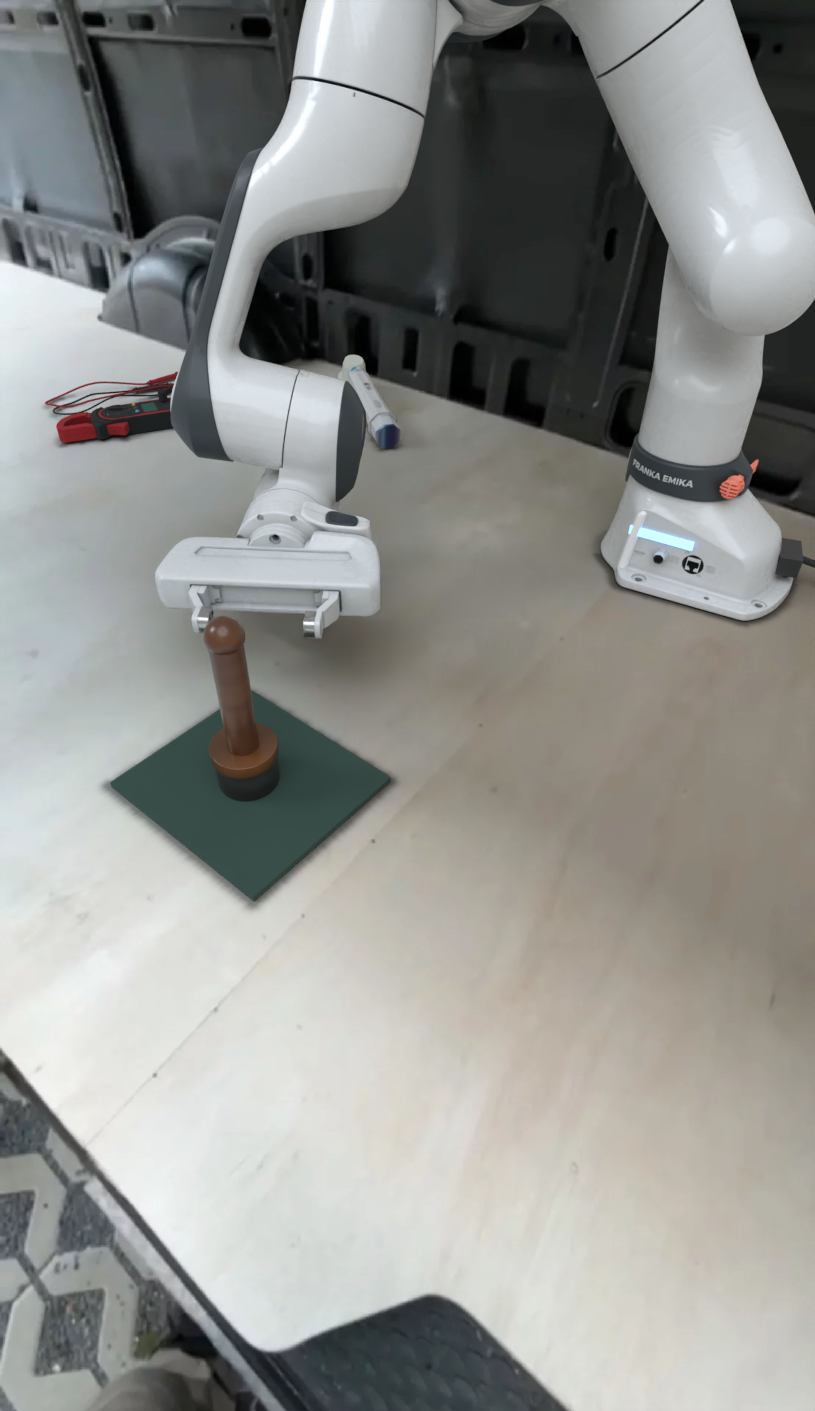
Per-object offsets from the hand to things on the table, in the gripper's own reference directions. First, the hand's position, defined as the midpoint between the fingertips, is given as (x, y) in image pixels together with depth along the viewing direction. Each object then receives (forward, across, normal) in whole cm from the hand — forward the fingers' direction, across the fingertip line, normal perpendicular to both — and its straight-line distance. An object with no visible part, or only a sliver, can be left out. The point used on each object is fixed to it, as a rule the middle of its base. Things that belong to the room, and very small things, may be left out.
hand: (256, 629), depth 67 cm
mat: (+8, 0, +11) cm, 13 cm away
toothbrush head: (-72, +3, +11) cm, 73 cm away
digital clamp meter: (-72, -36, +11) cm, 81 cm away
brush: (+8, 0, +10) cm, 13 cm away
